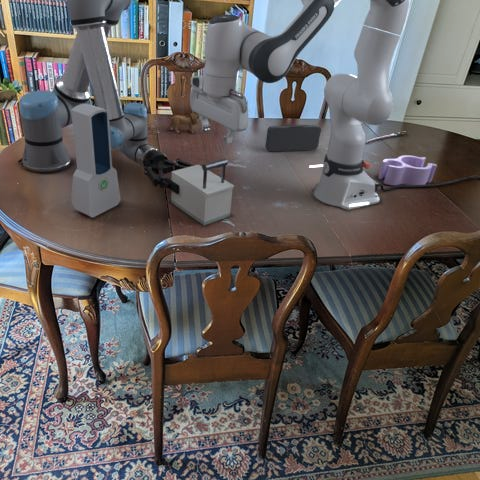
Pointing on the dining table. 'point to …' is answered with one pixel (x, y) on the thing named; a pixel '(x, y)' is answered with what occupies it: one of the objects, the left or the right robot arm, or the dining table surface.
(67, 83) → the left robot arm
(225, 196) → the chest
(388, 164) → the clip
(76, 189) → the electronic device
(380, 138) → the sword
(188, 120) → the lion figurine
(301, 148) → the handheld gaming console
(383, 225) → the dining table surface
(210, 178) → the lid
